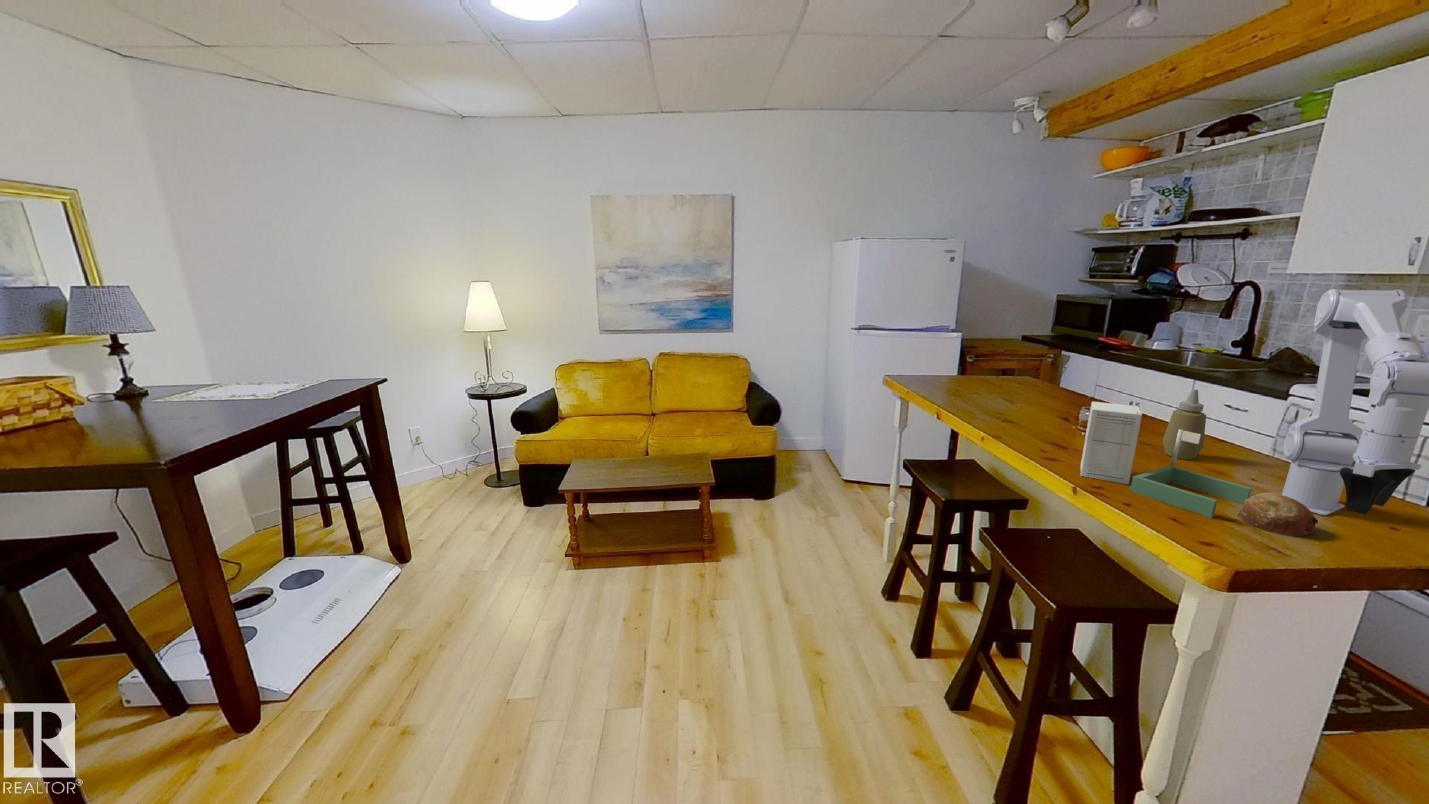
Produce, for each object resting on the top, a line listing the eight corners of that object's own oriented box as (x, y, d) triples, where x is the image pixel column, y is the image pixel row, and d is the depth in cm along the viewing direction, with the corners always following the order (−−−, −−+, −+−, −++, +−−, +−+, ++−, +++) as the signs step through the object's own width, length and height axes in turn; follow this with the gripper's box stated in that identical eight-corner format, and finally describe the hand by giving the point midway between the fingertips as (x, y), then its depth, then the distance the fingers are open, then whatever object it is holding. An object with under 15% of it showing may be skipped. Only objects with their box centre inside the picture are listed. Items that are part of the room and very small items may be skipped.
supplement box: (1126, 472, 125) (1140, 405, 121) (1130, 485, 118) (1145, 414, 114) (1079, 464, 131) (1090, 400, 127) (1079, 476, 123) (1091, 408, 119)
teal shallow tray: (1167, 479, 121) (1179, 428, 118) (1248, 503, 109) (1263, 447, 106) (1129, 491, 115) (1141, 437, 112) (1210, 517, 102) (1225, 458, 99)
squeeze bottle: (1152, 450, 141) (1166, 386, 137) (1185, 451, 140) (1200, 386, 135) (1173, 460, 133) (1189, 393, 129) (1208, 462, 132) (1225, 394, 128)
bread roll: (1242, 527, 106) (1227, 490, 107) (1315, 521, 100) (1299, 481, 100) (1249, 546, 99) (1233, 506, 99) (1328, 541, 92) (1311, 498, 93)
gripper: (1413, 445, 79) (1385, 526, 83) (1444, 433, 85) (1417, 509, 89) (1345, 433, 86) (1321, 508, 89) (1378, 423, 92) (1355, 493, 95)
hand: (1365, 508), depth 89 cm, fingers open, 7 cm apart
